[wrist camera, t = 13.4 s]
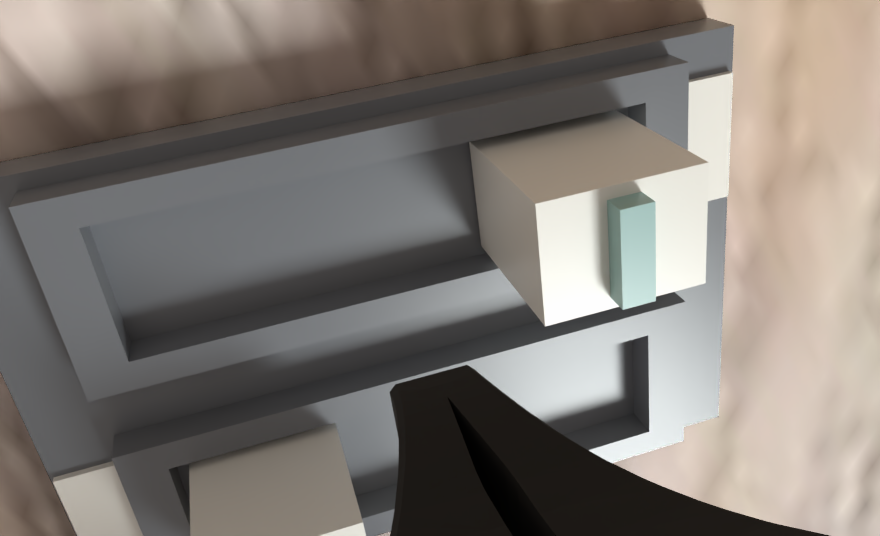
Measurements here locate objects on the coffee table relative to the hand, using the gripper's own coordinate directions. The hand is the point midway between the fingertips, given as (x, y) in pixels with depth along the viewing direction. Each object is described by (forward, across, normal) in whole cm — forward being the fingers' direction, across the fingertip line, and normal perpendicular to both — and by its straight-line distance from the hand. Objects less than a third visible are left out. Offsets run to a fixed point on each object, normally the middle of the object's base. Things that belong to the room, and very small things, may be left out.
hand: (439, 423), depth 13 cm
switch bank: (+10, -1, +4) cm, 11 cm away
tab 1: (+9, +3, +7) cm, 12 cm away
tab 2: (+9, -5, 0) cm, 10 cm away
